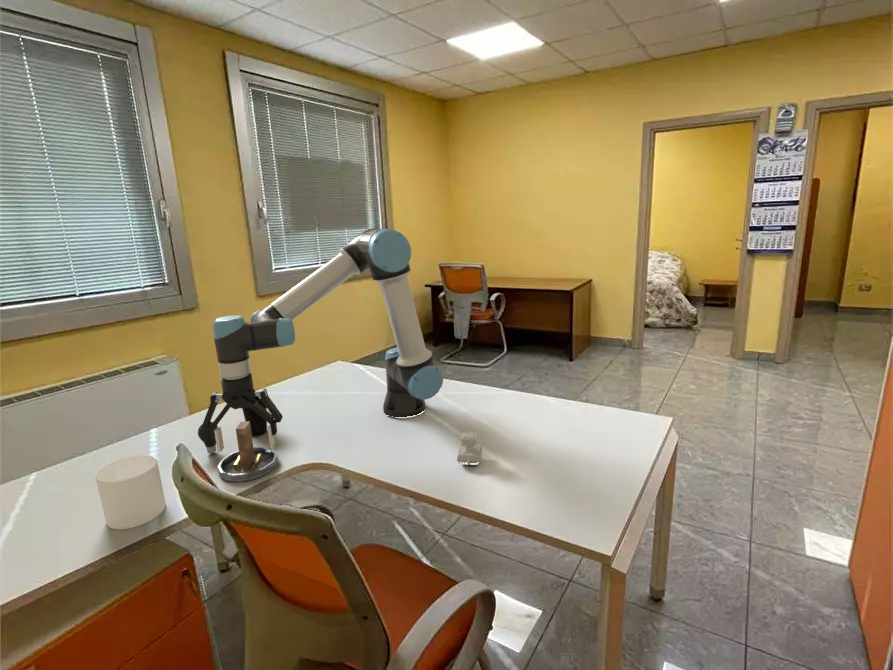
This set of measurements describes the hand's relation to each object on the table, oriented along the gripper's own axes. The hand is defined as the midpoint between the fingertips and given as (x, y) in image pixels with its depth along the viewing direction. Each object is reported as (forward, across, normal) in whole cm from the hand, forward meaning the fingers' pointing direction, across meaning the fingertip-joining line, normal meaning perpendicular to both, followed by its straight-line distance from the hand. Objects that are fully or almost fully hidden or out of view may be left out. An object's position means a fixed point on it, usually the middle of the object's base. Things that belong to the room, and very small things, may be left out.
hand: (247, 447), depth 125 cm
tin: (+6, 0, 0) cm, 6 cm away
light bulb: (+6, +13, -10) cm, 18 cm away
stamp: (+7, -61, +8) cm, 62 cm away
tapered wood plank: (+5, 0, 0) cm, 5 cm away
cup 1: (+6, +21, +17) cm, 28 cm away
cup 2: (+6, +3, -22) cm, 23 cm away
